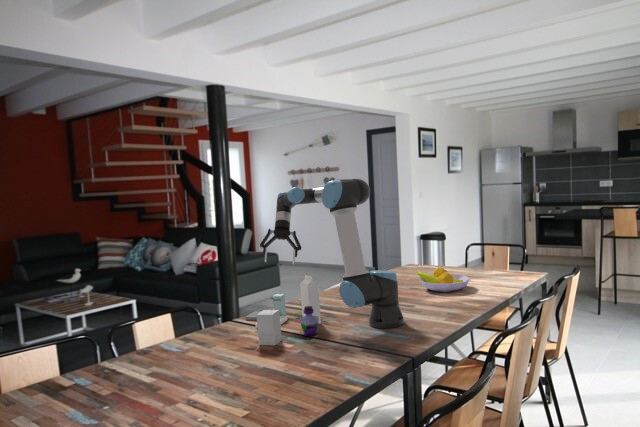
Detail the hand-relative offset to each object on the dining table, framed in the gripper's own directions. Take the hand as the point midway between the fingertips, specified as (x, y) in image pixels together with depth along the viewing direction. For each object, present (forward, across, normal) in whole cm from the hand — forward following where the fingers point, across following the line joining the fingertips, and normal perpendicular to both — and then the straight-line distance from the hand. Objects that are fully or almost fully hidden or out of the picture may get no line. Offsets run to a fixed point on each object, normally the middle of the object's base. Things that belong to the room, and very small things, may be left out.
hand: (279, 262), depth 232 cm
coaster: (+24, +8, -15) cm, 29 cm away
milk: (+30, -17, +4) cm, 35 cm away
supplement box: (+42, +1, +21) cm, 47 cm away
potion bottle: (+37, -15, +18) cm, 44 cm away
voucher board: (+29, +1, -3) cm, 29 cm away
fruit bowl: (-1, -92, -28) cm, 96 cm away
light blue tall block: (+24, -3, -11) cm, 27 cm away
